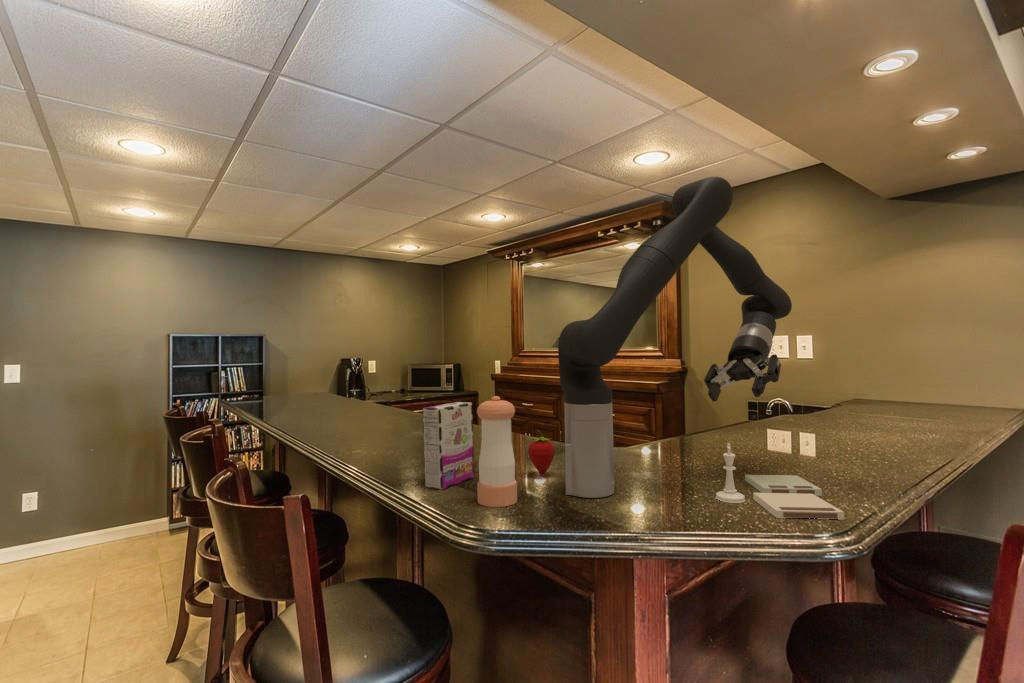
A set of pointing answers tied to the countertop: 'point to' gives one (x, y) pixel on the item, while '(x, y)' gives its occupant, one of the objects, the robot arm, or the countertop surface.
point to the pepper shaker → (496, 455)
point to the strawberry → (541, 453)
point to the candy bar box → (448, 444)
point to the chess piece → (729, 482)
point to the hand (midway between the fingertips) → (733, 396)
